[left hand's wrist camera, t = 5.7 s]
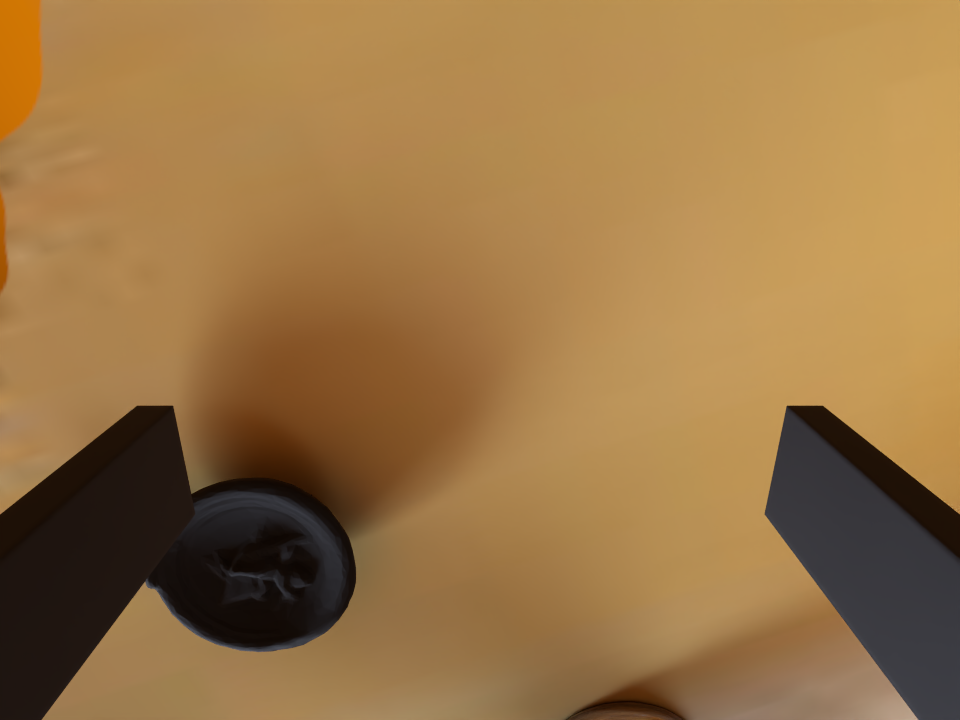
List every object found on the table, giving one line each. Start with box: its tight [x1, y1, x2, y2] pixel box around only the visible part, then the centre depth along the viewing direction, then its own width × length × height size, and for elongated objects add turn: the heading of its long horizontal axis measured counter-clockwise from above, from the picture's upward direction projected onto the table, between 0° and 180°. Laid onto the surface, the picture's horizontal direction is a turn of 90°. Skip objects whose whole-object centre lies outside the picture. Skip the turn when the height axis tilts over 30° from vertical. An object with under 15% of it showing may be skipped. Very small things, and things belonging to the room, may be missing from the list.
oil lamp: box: [145, 478, 356, 652], centre depth 44 cm, size 15×20×5 cm
